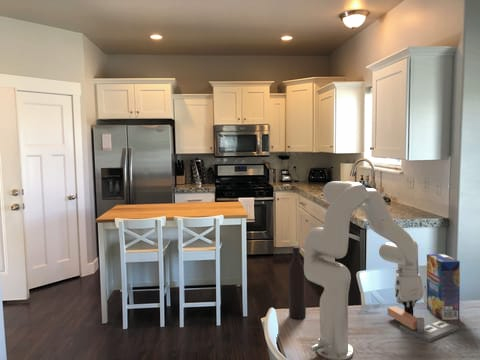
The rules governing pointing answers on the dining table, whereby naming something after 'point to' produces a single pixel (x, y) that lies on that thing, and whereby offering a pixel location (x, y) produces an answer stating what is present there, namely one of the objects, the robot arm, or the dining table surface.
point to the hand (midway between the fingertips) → (408, 315)
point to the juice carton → (443, 286)
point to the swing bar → (403, 317)
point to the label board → (430, 328)
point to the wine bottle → (296, 287)
